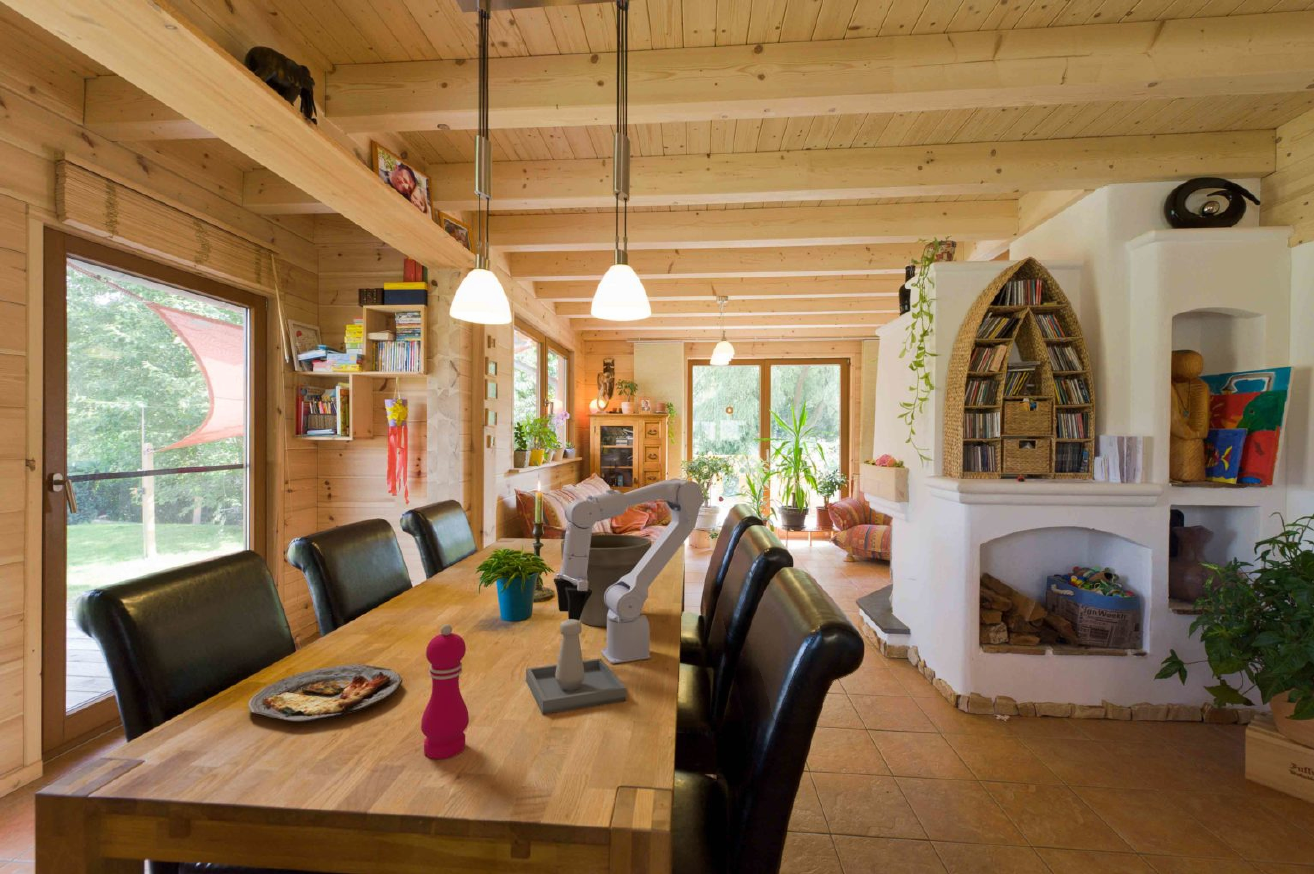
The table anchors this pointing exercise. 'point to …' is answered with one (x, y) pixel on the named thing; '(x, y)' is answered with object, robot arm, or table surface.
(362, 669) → the food plate
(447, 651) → the pepper mill
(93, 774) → the table surface
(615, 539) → the plant pot
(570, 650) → the salt shaker
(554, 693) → the tray
